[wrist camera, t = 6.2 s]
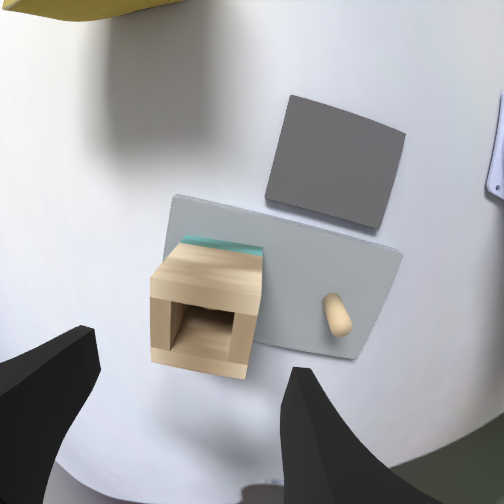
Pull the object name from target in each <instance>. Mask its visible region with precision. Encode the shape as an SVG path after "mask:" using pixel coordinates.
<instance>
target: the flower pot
mask: <svg viewBox="0 0 504 504" xmlns="http://www.w3.org/2000/svg"><path fill="white" fill-rule="evenodd" d="M180 1H184V0H4V2H3V7H2V9H3V10H8V11H15V12H21V13H27V14H32V15H37V16H43V17H48V18H53V19H57V20H63V21H75V22H81V21H94V20H100V19H106V18H111V17H115V16H121V15H124V14H128V13H131V12H135V11H139V10H142V9H146V8H150V7H155V6H159V5H164V4H169V3H175V2H180Z"/></svg>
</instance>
